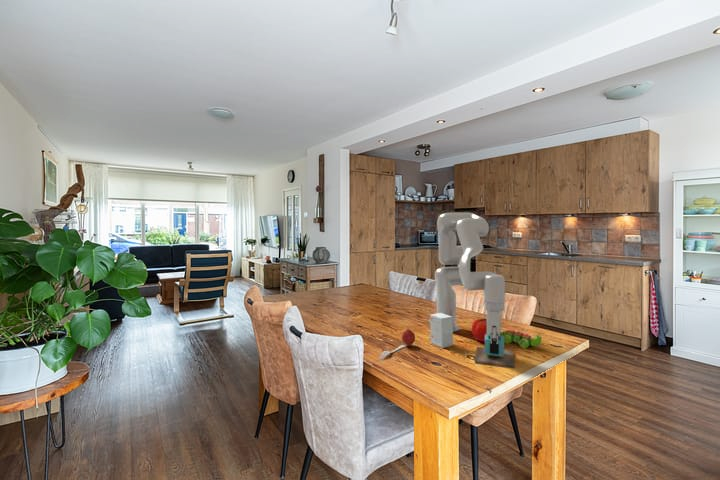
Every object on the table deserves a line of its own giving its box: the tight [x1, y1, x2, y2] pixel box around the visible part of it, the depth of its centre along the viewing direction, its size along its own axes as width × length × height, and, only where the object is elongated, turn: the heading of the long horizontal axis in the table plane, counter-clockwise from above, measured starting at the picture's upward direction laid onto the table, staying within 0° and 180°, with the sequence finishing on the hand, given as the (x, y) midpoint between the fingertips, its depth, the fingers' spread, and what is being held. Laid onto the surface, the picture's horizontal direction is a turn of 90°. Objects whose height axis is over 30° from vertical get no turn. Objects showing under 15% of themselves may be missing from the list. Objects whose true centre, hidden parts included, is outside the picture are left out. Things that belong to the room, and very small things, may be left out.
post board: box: [474, 346, 516, 369], centre depth 137 cm, size 14×16×7 cm
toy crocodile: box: [500, 329, 543, 349], centre depth 153 cm, size 20×7×6 cm, turn 39°
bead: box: [484, 334, 505, 357], centre depth 137 cm, size 7×7×6 cm
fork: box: [378, 344, 407, 361], centre depth 145 cm, size 3×21×3 cm, turn 144°
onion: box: [401, 328, 416, 347], centre depth 152 cm, size 6×6×8 cm
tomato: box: [471, 317, 497, 343], centre depth 157 cm, size 12×12×10 cm
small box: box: [429, 312, 454, 349], centre depth 153 cm, size 8×6×13 cm
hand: (494, 349), depth 137 cm, fingers closed on bead, 7 cm apart
